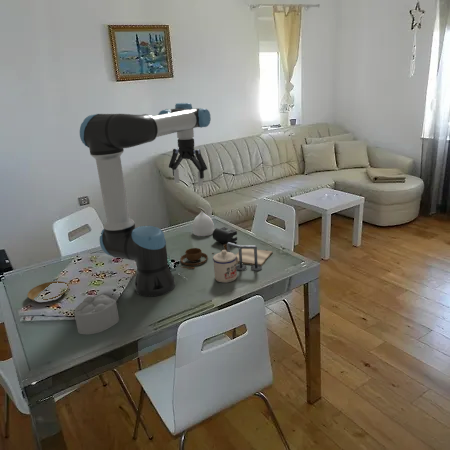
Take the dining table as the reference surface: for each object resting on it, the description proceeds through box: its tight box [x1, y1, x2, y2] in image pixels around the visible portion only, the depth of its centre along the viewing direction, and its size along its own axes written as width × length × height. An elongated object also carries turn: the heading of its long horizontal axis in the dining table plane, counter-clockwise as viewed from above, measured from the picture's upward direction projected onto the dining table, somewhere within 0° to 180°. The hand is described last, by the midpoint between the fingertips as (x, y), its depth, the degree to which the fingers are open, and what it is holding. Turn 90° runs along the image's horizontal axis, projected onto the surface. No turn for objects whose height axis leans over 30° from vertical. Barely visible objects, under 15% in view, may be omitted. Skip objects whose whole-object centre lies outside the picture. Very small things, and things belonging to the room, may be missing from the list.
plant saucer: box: [26, 280, 70, 302], centre depth 159 cm, size 15×15×3 cm
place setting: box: [179, 243, 227, 270], centre depth 179 cm, size 18×20×6 cm
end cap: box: [212, 226, 238, 245], centre depth 196 cm, size 10×7×7 cm
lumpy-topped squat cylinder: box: [73, 294, 120, 335], centre depth 137 cm, size 10×13×9 cm
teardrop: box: [192, 210, 215, 237], centre depth 211 cm, size 11×11×12 cm
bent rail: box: [227, 242, 263, 272], centre depth 169 cm, size 6×16×10 cm, turn 64°
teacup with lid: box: [212, 249, 239, 284], centre depth 162 cm, size 12×9×12 cm
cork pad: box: [235, 248, 273, 267], centre depth 180 cm, size 14×14×1 cm
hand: (188, 184), depth 196 cm, fingers open, 13 cm apart
